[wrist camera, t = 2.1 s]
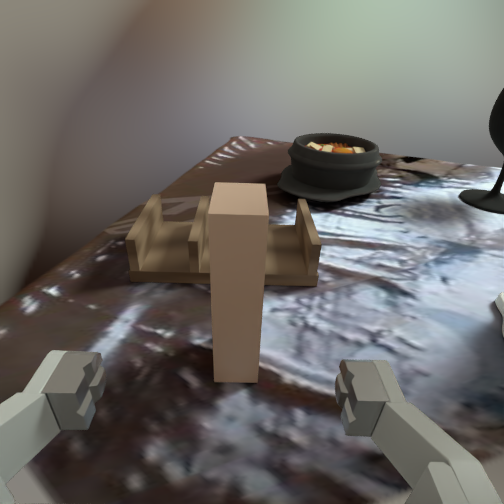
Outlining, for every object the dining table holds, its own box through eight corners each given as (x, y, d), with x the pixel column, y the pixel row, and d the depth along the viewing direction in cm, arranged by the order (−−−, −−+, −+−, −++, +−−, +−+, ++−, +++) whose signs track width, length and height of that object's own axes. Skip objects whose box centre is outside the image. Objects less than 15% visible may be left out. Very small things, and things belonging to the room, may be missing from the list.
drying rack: (316, 286, 39) (324, 244, 36) (130, 281, 38) (122, 239, 35) (302, 234, 49) (307, 199, 46) (155, 230, 48) (150, 194, 45)
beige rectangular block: (257, 382, 27) (268, 215, 20) (214, 382, 27) (207, 213, 19) (256, 336, 32) (265, 183, 24) (218, 336, 32) (215, 182, 24)
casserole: (350, 223, 53) (361, 170, 48) (252, 193, 61) (254, 146, 57) (395, 180, 70) (406, 138, 66) (314, 161, 79) (319, 124, 74)
